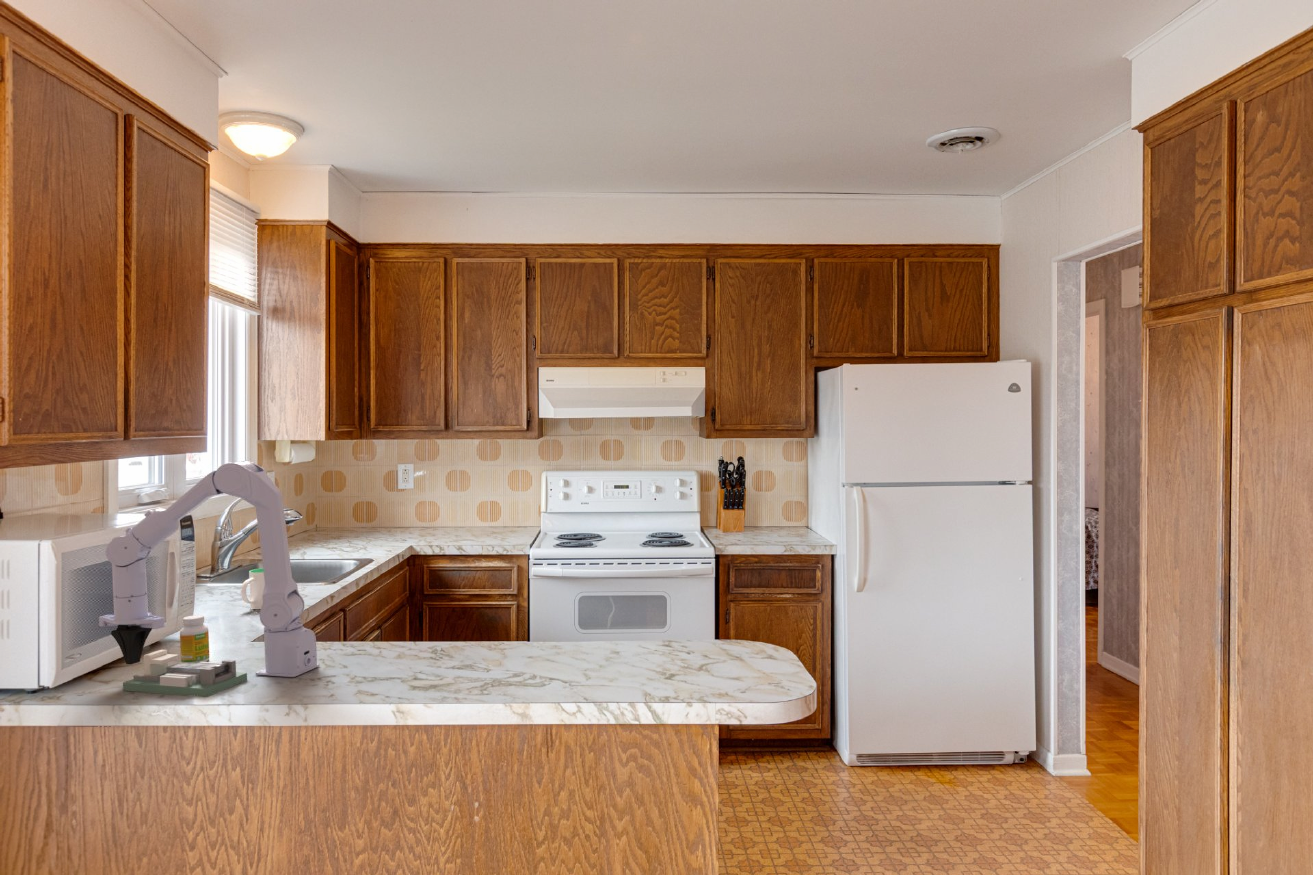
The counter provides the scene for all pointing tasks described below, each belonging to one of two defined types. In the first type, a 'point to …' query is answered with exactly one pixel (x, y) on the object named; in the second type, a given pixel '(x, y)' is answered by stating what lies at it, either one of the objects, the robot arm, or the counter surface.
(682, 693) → the counter surface
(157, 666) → the clip
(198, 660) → the supplement bottle
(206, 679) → the heatsink board
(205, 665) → the strap
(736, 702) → the counter surface
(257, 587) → the mug
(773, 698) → the counter surface
